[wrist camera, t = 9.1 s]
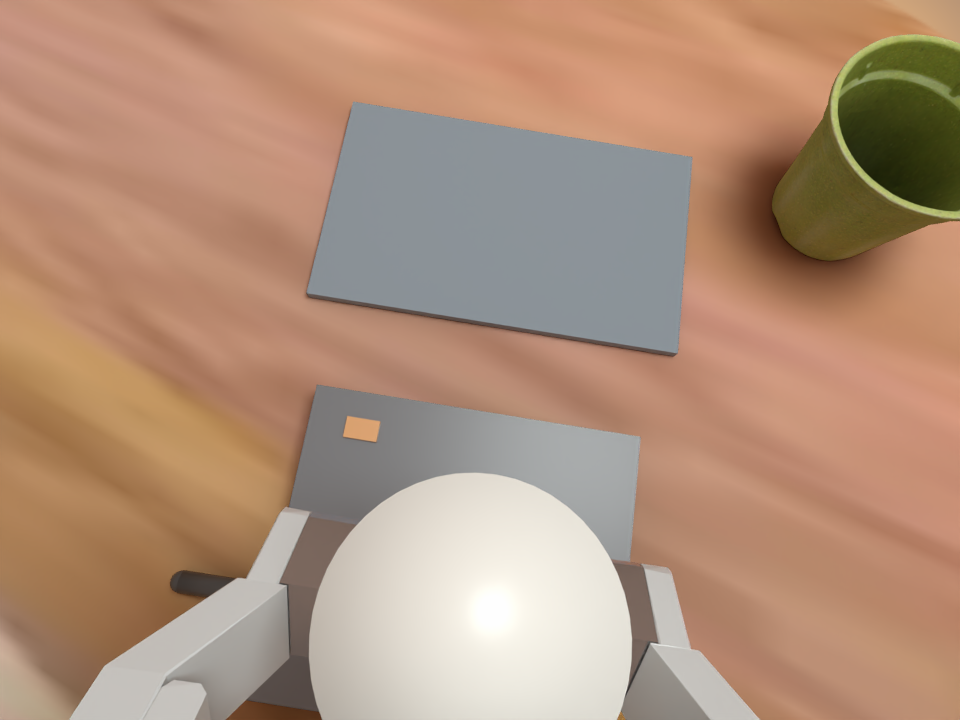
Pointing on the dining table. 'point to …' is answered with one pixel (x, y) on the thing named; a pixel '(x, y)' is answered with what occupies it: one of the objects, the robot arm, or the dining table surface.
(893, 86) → the plant pot
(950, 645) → the dining table surface
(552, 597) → the white rounded cylinder
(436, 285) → the rubber mat
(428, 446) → the grey square frame
